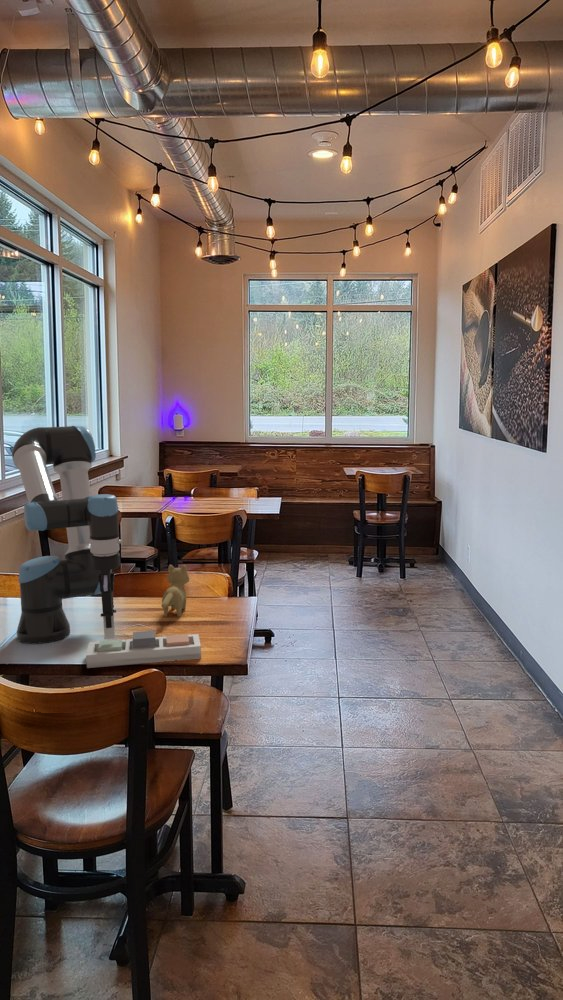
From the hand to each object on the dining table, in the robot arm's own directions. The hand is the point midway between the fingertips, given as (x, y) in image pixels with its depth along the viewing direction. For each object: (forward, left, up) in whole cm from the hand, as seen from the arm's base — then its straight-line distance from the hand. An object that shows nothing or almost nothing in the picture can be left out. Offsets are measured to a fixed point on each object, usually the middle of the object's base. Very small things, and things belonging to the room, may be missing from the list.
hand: (109, 637), depth 189 cm
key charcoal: (+9, 0, -2) cm, 9 cm away
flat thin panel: (+8, +20, -7) cm, 23 cm away
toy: (+18, +35, -6) cm, 40 cm away
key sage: (0, 0, -4) cm, 4 cm away
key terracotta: (+18, 0, -4) cm, 19 cm away
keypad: (+9, 0, -6) cm, 11 cm away
